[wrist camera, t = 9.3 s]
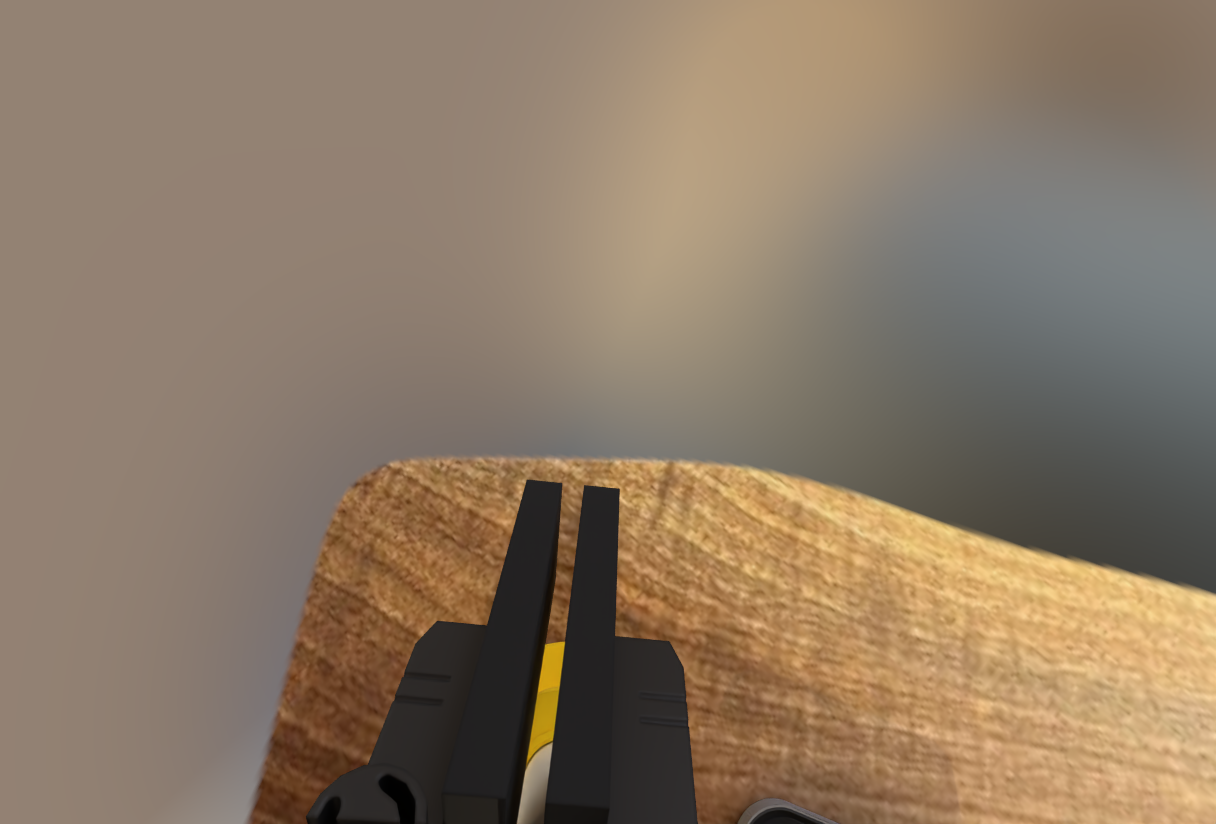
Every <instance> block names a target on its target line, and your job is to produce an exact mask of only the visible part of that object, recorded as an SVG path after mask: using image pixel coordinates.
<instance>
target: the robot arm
mask: <svg viewBox="0 0 1216 824" xmlns="http://www.w3.org/2000/svg"><path fill="white" fill-rule="evenodd" d="M619 494H620V489H617V488H607V487H596V486H586V485H584V491H583V499H582V507H581V516H580V524H579V532H578V540H577V548H576V556H575V565H574V573H573V581H572V589H571V597H570V605H569V614H568V622H567V630H566V638H565V646H564V654H563V662H562V671H561V679H560V687H559V695H558V703H557V711H556V720H555V728H554V736H553V744H552V752H551V760H550V769H549V777H548V785H547V793H546V801H545V813H544V824H698V822H697V811H696V800H695V789H694V778H693V767H692V756H691V745H690V734H689V727H688V712H687V702H686V690H685V679H684V668H683V666H682V664H681V662H680V660H679V658H678V656H677V655H676V653H675V651H674V649H673V647H672V645H671V644H670V642H669V641H661V640H650V639H640V638H630V637H619V636H615V622H616V590H617V558H618V526H619ZM561 497H562V483H556V482H546V481H536V480H527V481H526V485H525V489H524V492H523V496H522V500H521V503H520V507H519V511H518V514H517V518H516V522H515V525H514V529H513V533H512V536H511V540H510V544H509V547H508V551H507V554H506V558H505V562H504V565H503V569H502V573H501V576H500V580H499V584H498V587H497V591H496V595H495V598H494V602H493V606H492V609H491V613H490V617H489V620H488V624H487V626H486V625H475V624H465V623H455V622H444V621H437V622H436V623H435V624H434V625H433V626H432V627H431V628H430V629H429V630H428V631H427V632H426V633H425V634H424V635H423V636H422V637H421V639H420V640H419V641H418V642H417V643H416V644H415V647H414V649H413V652H412V654H411V657H410V659H409V662H408V664H407V667H406V669H405V673H404V677H402V680H401V682H400V685H399V687H398V690H397V692H396V695H395V700H394V701H393V702H392V705H391V707H390V710H389V712H388V715H387V718H386V720H385V723H384V725H383V728H382V730H381V733H380V735H379V738H378V740H377V743H376V745H375V748H374V750H373V753H372V756H371V758H370V761H369V763H368V765H363V766H361V767H359V768H357V769H354V770H352V771H350V772H348V773H346V774H344V775H342V776H340V777H339V778H338V779H336V780H335V781H334V782H333V783H332V784H331V785H330V786H329V787H327V788H326V789H325V790H324V791H323V792H322V793H321V794H320V795H319V797H318V798H317V800H316V801H315V803H314V805H313V806H312V808H311V809H310V811H309V813H308V814H307V816H306V819H307V823H308V824H517V821H518V814H519V808H520V802H521V795H522V789H523V783H524V776H525V770H526V764H527V757H528V751H529V745H530V738H531V732H532V726H533V719H534V713H535V707H536V700H537V694H538V688H539V681H540V675H541V669H542V662H543V656H544V650H545V643H546V637H547V631H548V624H549V618H550V612H551V605H552V599H553V593H554V586H555V580H556V566H557V552H558V538H559V525H560V511H561Z"/></svg>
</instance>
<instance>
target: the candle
mask: <svg viewBox="0 0 1216 824" xmlns="http://www.w3.org/2000/svg"><path fill="white" fill-rule="evenodd" d="M564 646H565V642H557V643H551V644H545V650H544V656H543V662H542V669H541V675H540V681H539V688H538V694H537V700H536V707H535V713H534V719H533V726H532V732H531V738H530V745H529V751H528V757H527V764H526V770H525V776H524V783H523V789H522V795H521V802H520V808H519V814H518V821H517V824H544V813H545V801H546V793H547V785H548V777H549V769H550V760H551V752H552V744H553V736H554V728H555V720H556V711H557V703H558V695H559V687H560V679H561V671H562V662H563V654H564Z"/></svg>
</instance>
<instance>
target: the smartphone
mask: <svg viewBox="0 0 1216 824" xmlns="http://www.w3.org/2000/svg"><path fill="white" fill-rule="evenodd" d="M738 824H839V823H837V822H834V821H832V820H830V819H827V818H825V817H823V816H820V815H818V814H815V813H813V812H811V811H808V810H806V809H804V808H801V807H799V806H797V805H794V804H792V803H790V802H787V801H785V800H782V799H777V798H767V799H763V800H760V801H757V802H755V803H754V804H752V805H751V806H750V807H748V808H747V809H746V810H745V812H744V813H743V814H742V816H741V817H740V819H739V821H738Z"/></svg>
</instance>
